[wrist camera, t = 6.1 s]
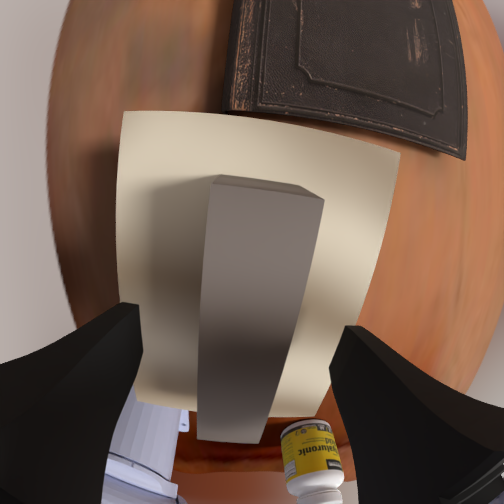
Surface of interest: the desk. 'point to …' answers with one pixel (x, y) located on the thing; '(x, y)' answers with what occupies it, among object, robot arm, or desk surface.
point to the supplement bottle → (312, 462)
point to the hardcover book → (353, 66)
